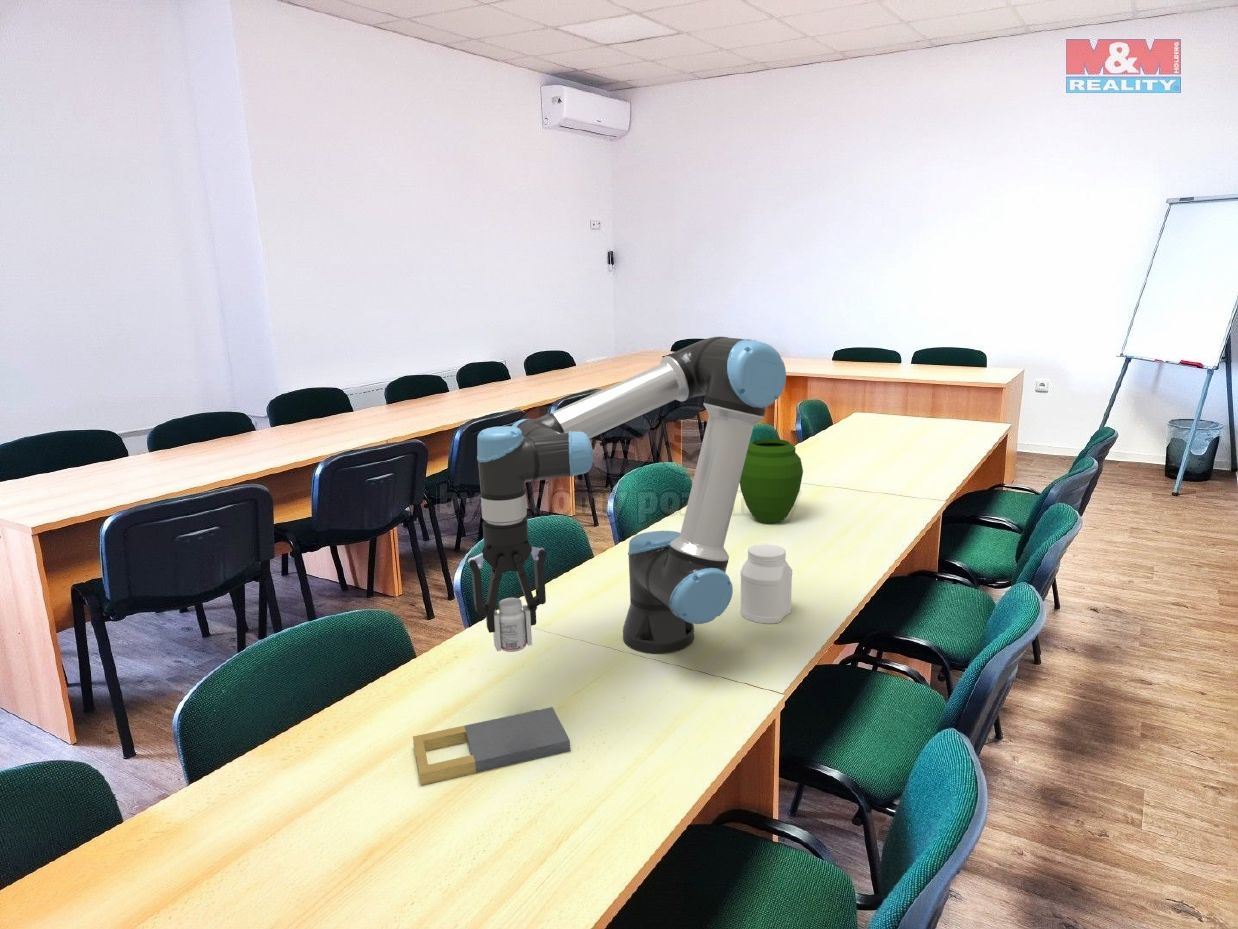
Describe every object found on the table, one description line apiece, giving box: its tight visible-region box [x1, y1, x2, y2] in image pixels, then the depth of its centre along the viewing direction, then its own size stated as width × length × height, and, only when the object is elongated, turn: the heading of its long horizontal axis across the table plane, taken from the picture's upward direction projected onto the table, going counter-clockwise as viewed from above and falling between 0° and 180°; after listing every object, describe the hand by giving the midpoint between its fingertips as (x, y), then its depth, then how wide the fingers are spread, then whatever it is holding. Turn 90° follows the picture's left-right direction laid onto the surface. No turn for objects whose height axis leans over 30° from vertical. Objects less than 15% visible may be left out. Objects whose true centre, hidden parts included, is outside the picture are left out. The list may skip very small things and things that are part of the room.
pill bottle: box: [497, 597, 527, 653], centre depth 139 cm, size 5×5×8 cm
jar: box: [739, 543, 793, 625], centre depth 178 cm, size 12×10×15 cm
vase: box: [739, 438, 804, 524], centre depth 242 cm, size 20×20×24 cm
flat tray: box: [412, 706, 571, 786], centre depth 132 cm, size 24×11×2 cm, turn 110°
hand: (513, 644), depth 140 cm, fingers closed on pill bottle, 5 cm apart
